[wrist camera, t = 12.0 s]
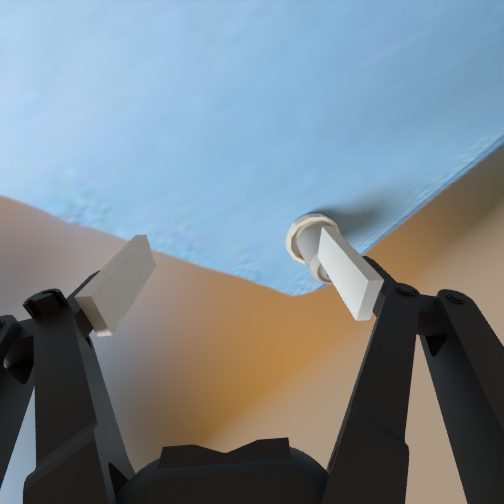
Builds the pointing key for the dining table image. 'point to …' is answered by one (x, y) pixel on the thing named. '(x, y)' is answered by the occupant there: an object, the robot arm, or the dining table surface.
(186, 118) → the dining table surface
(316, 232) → the can
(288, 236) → the bowl
